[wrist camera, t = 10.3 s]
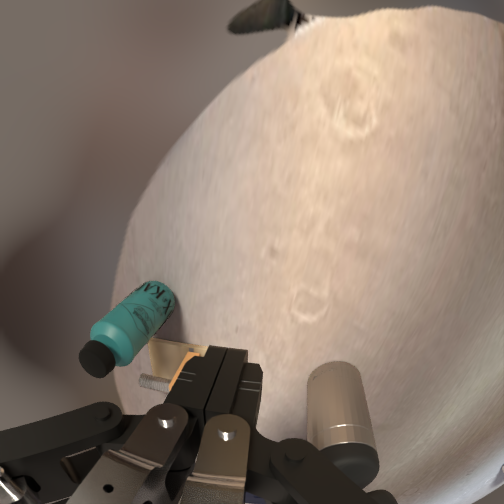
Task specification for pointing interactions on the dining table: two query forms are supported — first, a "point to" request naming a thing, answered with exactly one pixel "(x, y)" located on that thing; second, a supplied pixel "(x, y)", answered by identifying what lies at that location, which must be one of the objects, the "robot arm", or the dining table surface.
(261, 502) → the dark blue flat slab
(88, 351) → the beverage bottle
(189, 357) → the collar
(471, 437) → the dining table surface
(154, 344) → the pipe stand
